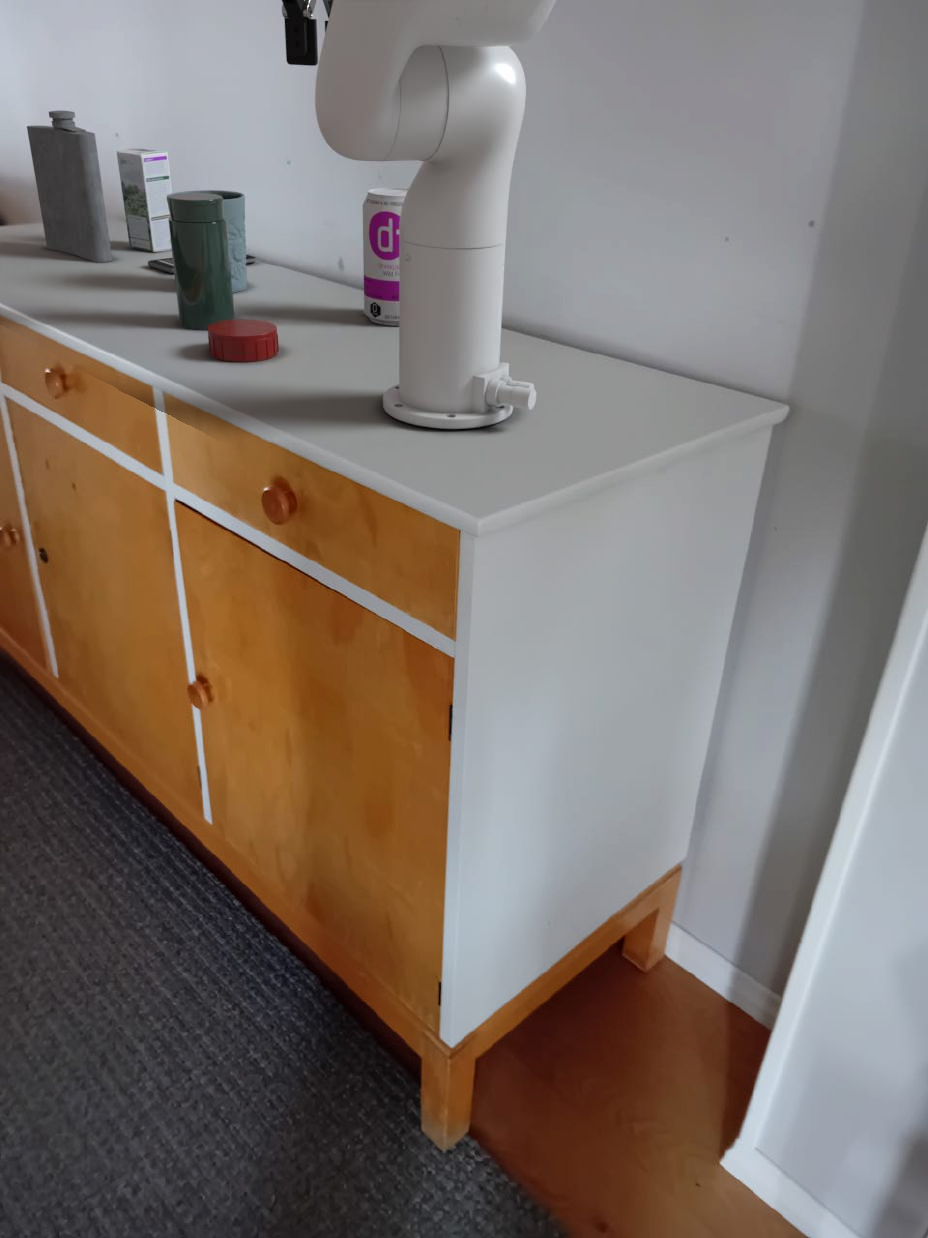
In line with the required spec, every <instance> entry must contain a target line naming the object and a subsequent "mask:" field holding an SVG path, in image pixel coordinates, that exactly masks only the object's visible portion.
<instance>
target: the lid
mask: <svg viewBox="0 0 928 1238" xmlns="http://www.w3.org/2000/svg"><path fill="white" fill-rule="evenodd" d="M207 339H208V349H209V354H210V356H211V357H213V358H214V359H217V360H220V361H224V362H231V363H251V362H252V363H253V362H260V361H267V360H269V359H272V358H274V357H276V356H277V355H278V354H279V353H280V349H279V334H278V327H277V325H276V324H274V323H273V322H270V321H266V320H262V319H252V318H250V319H249V318H237V319H236V318H235V320H226V321H220V322H216V323H214V324H211V325H210V326H209V327H208V330H207Z"/></svg>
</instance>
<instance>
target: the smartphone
mask: <svg viewBox="0 0 928 1238" xmlns="http://www.w3.org/2000/svg"><path fill="white" fill-rule="evenodd" d="M256 262H257V257H256V256H253V255H249V254H246V265H248V264H255V263H256ZM147 265H148V266H149V267H150V268H153V269H157V270H160V271H162V272H166V273H169V274H174V265H173V257H167V258H160V259H151V260H148V261H147Z"/></svg>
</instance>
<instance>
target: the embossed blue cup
mask: <svg viewBox="0 0 928 1238" xmlns="http://www.w3.org/2000/svg"><path fill="white" fill-rule="evenodd" d="M181 193H208V194H216V195H220V196H222V198H223V199H224V201H223V211H224V217H225V218H227V227H228V240H229V252H230V264H231V276H232V289H233V293H239V292H241V291H245V290H246V289H247V287H248V273H247V272H248V271H247V264H246V255H247V244H246V242H247V238H246V231H247V230H246V224H245V222H246V196H245V194H244V193H242V192H238V191H233V190H221V189H219V190H218V189H217V190H216V189H215V190H214V189H212V190H211V189H209V190H207V189H204V190H203V189H202V190H187V191H179V192H172V194H169V195H167V202H168V207H169V212H170V204H169V196H170V195H174V194H181ZM170 216H171V213H170Z"/></svg>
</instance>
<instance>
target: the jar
mask: <svg viewBox="0 0 928 1238" xmlns="http://www.w3.org/2000/svg"><path fill="white" fill-rule="evenodd" d="M223 201H224V199H223V198H222V196H220V195H216V194H208V193H181V194H174V195H170V196H169V204H170V213H171V217H170V218H169V219H168V220H169V229H170V238H171V247H172V249H171V255H172V258H173V265H174V273H173V274H174V283H175V291H176V301H177V302H176V303H177V310H178V318H179V319H178V321H179V325H180V326H181V327H183V328H185V329H189V330H196V331H197V330H198V331H208V327H209V326H210V325H211V324H214V323H216V322H220V321H226V320H235V319H236V317H235V316H236V314H235V301H234V292H233V289H232V276H231V264H230V252H229V240H228V227H227V218H225V217H224V211H223Z"/></svg>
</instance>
